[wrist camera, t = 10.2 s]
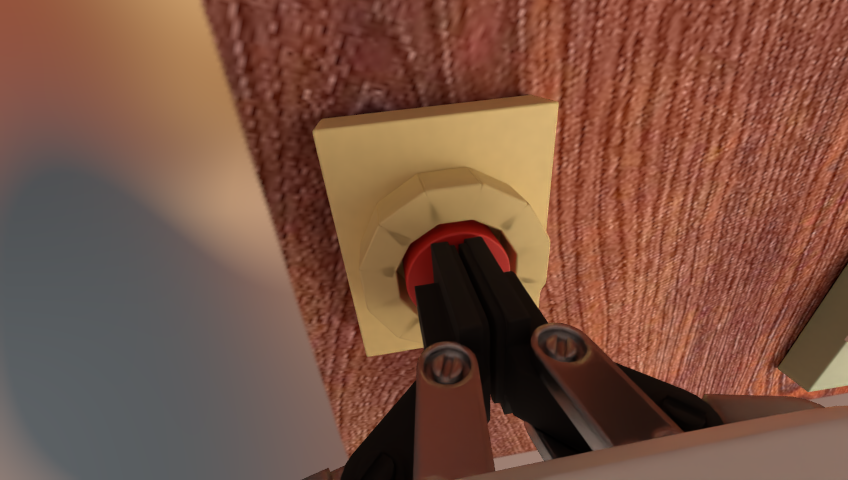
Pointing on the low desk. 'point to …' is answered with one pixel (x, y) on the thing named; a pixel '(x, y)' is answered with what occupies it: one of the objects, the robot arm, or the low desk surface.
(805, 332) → the panel
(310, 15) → the low desk surface
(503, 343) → the robot arm
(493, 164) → the button box
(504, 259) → the button
